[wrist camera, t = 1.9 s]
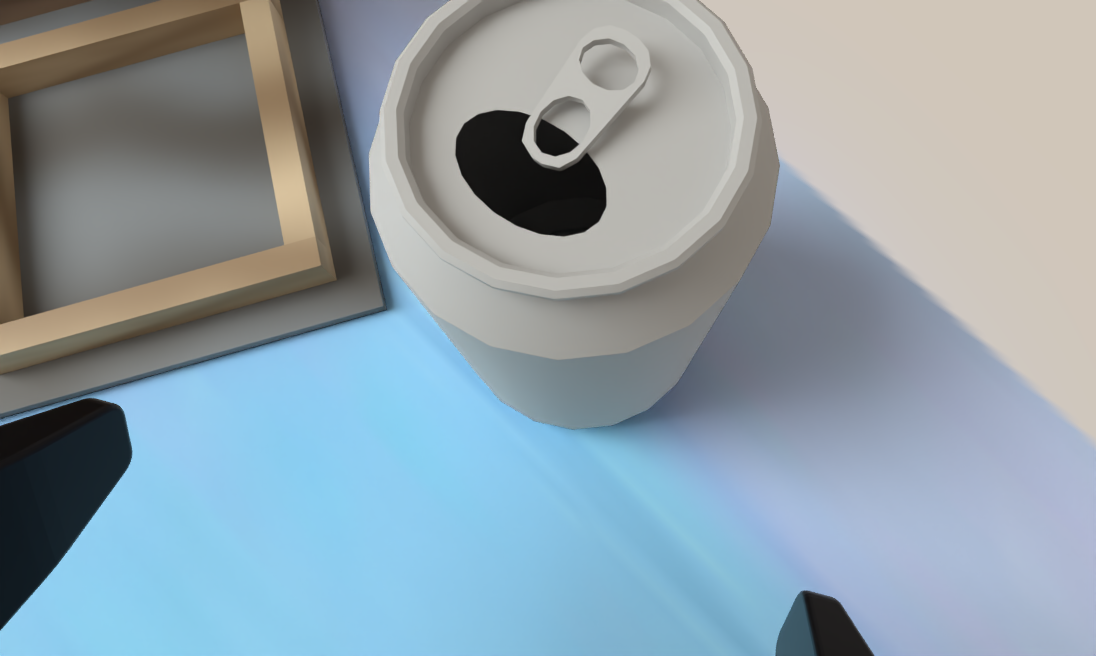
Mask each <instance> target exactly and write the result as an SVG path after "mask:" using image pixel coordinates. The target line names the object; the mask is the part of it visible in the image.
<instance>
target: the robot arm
mask: <svg viewBox="0 0 1096 656" xmlns="http://www.w3.org/2000/svg"><path fill="white" fill-rule="evenodd" d="M131 458H132V446H131V441H130V437H129V432H128V427H127V423H126V418H125V414H124V411H123V409H122V408H121V407H120V406H119V405H117V404H114V403H110V402H106V401H103V400H99V399H95V398H87V399H83V400H80V401H76V402H73V403H70V404H67V405H64V406H61V407H58V408H54V409H51V410H48V411H45V412H42V413H39V414H36V415H33V416H29V417H26V418H23V419H20V420H17V421H14V422H11V423H7V424H4V425H1V426H0V631H1V629H2V628H3V627H4V626H5V625H6V624H7V623H8V621H9V620H10V619H11V618H12V617H13V616H14V615H15V613H16V612H17V611H18V610H19V609H20V608H21V606H22V605H23V604H24V603H25V602H26V601H27V600H28V598H29V597H30V596H31V595H32V594H33V593H34V592H35V590H36V589H37V588H38V587H39V586H40V585H41V584H42V582H43V581H44V580H45V579H46V578H47V577H48V575H49V574H50V573H51V572H52V571H53V569H54V568H55V567H56V566H57V565H58V563H59V562H60V561H61V559H62V558H63V557H64V555H65V554H66V553H67V551H68V550H69V549H70V547H71V546H72V545H73V543H74V542H75V541H76V539H77V538H78V536H79V535H80V534H81V532H82V531H83V530H84V528H85V527H86V525H87V524H88V523H89V521H90V520H91V518H92V517H93V516H94V514H95V513H96V512H97V510H98V509H99V507H100V506H101V505H102V503H103V502H104V500H105V499H106V498H107V496H108V495H109V494H110V492H111V491H112V489H113V488H114V487H115V485H116V484H117V482H118V481H119V480H120V478H121V477H122V476H123V474H124V473H125V471H126V470H127V468H128V466H129V464H130V462H131ZM775 656H874V654H873V653H872V651H871V650H870V648H869V647H868V645H867V644H866V642H865V640H864V639H863V637H862V636H861V634H860V633H859V631H858V630H857V628H856V626H855V625H854V623H853V622H852V620H851V619H850V617H849V616H848V614H847V612H846V611H845V609H844V608H843V606H842V605H841V604H840V602H838V601H837V600H836V599H835V598H833V597H830V596H826V595H822V594H818V593H815V592H811V591H801V592H800V593H799V594H798V595H797V597H796V599H795V601H794V603H793V605H792V607H791V610H790V612H789V614H788V616H787V618H786V620H785V622H784V624H783V626H782V628H781V631H780V633H779V636H778V640H777V645H776V655H775Z"/></svg>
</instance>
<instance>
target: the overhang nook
mask: <svg viewBox="0 0 1096 656" xmlns="http://www.w3.org/2000/svg"><path fill="white" fill-rule="evenodd" d="M383 310H387V308H386V304H385V299H384V295H383V290H382V286H381V281H380V277H379V272H378V268H377V263H376V259H375V254H374V250H373V245H372V241H371V236H370V232H369V227H368V223H367V218H366V214H365V209H364V205H363V200H362V196H361V191H360V187H359V182H358V178H357V173H356V169H355V164H354V160H353V155H352V151H351V146H350V142H349V137H348V133H347V128H346V124H345V119H344V115H343V110H342V106H341V101H340V97H339V92H338V88H337V83H336V79H335V74H334V70H333V65H332V61H331V56H330V52H329V47H328V43H327V38H326V34H325V29H324V25H323V20H322V16H321V11H320V7H319V2H318V0H0V418H3V417H6V416H10V415H14V414H17V413H21V412H24V411H28V410H31V409H35V408H38V407H42V406H45V405H49V404H53V403H56V402H60V401H63V400H67V399H70V398H74V397H77V396H81V395H85V394H88V393H92V392H95V391H99V390H102V389H106V388H109V387H113V386H117V385H120V384H124V383H127V382H131V381H134V380H138V379H141V378H145V377H149V376H152V375H156V374H159V373H163V372H166V371H170V370H173V369H177V368H181V367H184V366H188V365H191V364H195V363H198V362H202V361H205V360H209V359H213V358H216V357H220V356H223V355H227V354H230V353H234V352H237V351H241V350H245V349H248V348H252V347H255V346H259V345H262V344H266V343H269V342H273V341H277V340H280V339H284V338H287V337H291V336H294V335H298V334H301V333H305V332H308V331H312V330H316V329H319V328H323V327H326V326H330V325H333V324H337V323H340V322H344V321H348V320H351V319H355V318H358V317H362V316H365V315H369V314H372V313H376V312H380V311H383Z"/></svg>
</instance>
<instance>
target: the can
mask: <svg viewBox="0 0 1096 656" xmlns="http://www.w3.org/2000/svg"><path fill="white" fill-rule="evenodd" d="M379 115H380V120H379V123H378V127H377V130H376V133H375V136H374V139H373V142H372V146H371V149H370V152H369V175H370V210H371V214H372V216H373V219H374V222H375V224H376V227H377V229H378V232H379V234H380V237H381V239H382V242H383V244H384V247H385V249H386V252H387V255H388V257H389V260H390V262H391V265H392V267H393V268H394V270H395V271H396V272H397V273H398V275H399V276H400V277H401V278H402V280H403V281H404V282H405V283H406V285H407V286H408V287H409V289H410V290H411V291H412V292H413V294H414V295H415V296H416V297H417V299H418V300H419V301H420V302H421V304H422V305H423V306H424V308H425V309H426V310H427V311H428V313H429V314H430V315H431V316H432V318H433V319H434V320H435V322H436V323H437V324H438V325H439V327H440V328H441V329H442V330H443V332H444V333H445V334H446V335H447V337H448V338H449V339H450V341H451V342H452V343H453V344H454V346H455V347H456V348H457V349H458V351H459V352H460V353H461V354H462V356H463V357H464V358H465V360H466V361H467V362H468V363H469V365H470V366H471V367H472V368H473V370H474V371H475V372H476V373H477V375H478V376H479V377H480V378H481V379H482V380H483V381H484V383H485V384H486V385H487V386H488V387H489V388H490V390H491V391H492V392H493V393H494V394H495V395H496V396H497V398H498V399H499V400H500V401H501V402H503V403H504V404H506V405H508V406H509V407H511V408H513V409H515V410H516V411H518V412H520V413H521V414H523V415H525V416H526V417H528V418H530V419H532V420H533V421H536V422H541V423H545V424H550V425H555V426H559V427H564V428H568V429H582V428H592V427H602V426H612V425H614V424H617V423H619V422H621V421H623V420H626V419H628V418H630V417H632V416H635V415H637V414H639V413H642V412H644V411H646V410H648V409H649V408H651V407H652V406H653V405H654V404H655V403H656V402H657V401H658V400H659V399H660V398H662V397H663V396H664V395H665V394H666V393H667V392H668V391H669V390H670V389H671V388H673V387H674V386H675V385H676V384H677V383H678V381H679V379H680V378H681V376H682V375H683V373H684V371H685V370H686V368H687V366H688V365H689V363H690V361H691V360H692V358H693V356H694V355H695V353H696V352H697V350H698V348H699V347H700V345H701V343H702V342H703V340H704V338H705V337H706V335H707V333H708V332H709V330H710V328H711V327H712V325H713V324H714V322H715V320H716V319H717V317H718V315H719V314H720V312H721V310H722V309H723V307H724V305H725V304H726V302H727V301H728V299H729V297H730V296H731V294H732V292H733V291H734V289H735V287H736V286H737V284H738V282H739V281H740V279H741V277H742V275H743V274H744V272H745V270H746V268H747V266H748V265H749V263H750V261H751V259H752V257H753V255H754V254H755V252H756V250H757V248H758V246H759V245H760V243H761V241H762V239H763V237H764V236H765V234H766V232H767V230H768V228H769V227H770V224H771V218H772V211H773V205H774V198H775V192H776V186H777V179H778V173H779V167H780V164H779V159H778V154H777V149H776V144H775V139H774V134H773V129H772V125H771V119H770V114H769V109H768V106H767V105H766V103H765V101H764V100H763V98H762V96H761V95H760V93H759V91H758V90H757V88H756V86H755V80H754V75H753V70H752V67H751V65H750V64H749V62H748V60H747V59H746V57H745V55H744V54H743V52H742V50H741V49H740V47H739V45H738V44H737V42H736V41H735V39H734V37H733V36H732V34H731V32H730V31H729V29H728V27H727V26H726V24H725V22H724V21H722V20H721V19H720V18H719V17H718V16H717V15H715V14H714V13H713V12H712V11H711V10H710V9H708V8H707V7H706V6H705V5H704V4H703V3H701V2H700V1H699V0H450V1H448V2H447V3H446V4H445V5H443V6H442V7H441V8H439V9H438V10H437V11H435V12H434V13H433V14H432V15H430V16H429V17H428V18H426V20H425V21H424V23H423V24H422V25H421V27H420V28H419V30H418V31H417V32H416V34H415V35H414V37H413V38H412V39H411V41H410V42H409V43H408V45H407V46H406V48H405V49H404V50H403V52H402V53H401V55H400V56H399V57H398V59H397V60H396V62H395V64H394V68H393V71H392V74H391V77H390V80H389V83H388V86H387V90H386V93H385V96H384V99H383V102H382V105H381V108H380V112H379Z"/></svg>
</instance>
